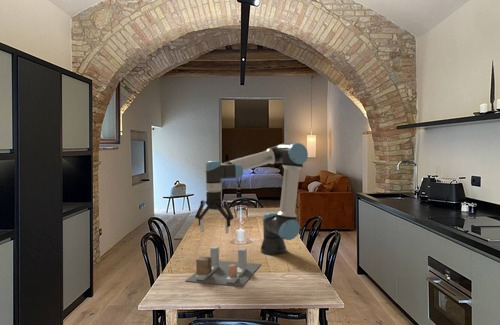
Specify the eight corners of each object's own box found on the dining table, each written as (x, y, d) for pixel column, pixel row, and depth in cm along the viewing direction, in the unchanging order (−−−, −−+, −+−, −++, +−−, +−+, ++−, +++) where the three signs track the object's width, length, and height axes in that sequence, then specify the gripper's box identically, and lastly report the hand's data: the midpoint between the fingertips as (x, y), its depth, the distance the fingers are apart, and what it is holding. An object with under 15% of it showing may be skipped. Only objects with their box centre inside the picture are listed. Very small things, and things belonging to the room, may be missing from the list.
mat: (211, 260, 205) (211, 260, 205) (261, 264, 197) (261, 264, 197) (185, 281, 174) (185, 280, 174) (242, 286, 166) (242, 286, 166)
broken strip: (239, 268, 190) (239, 248, 189) (247, 268, 189) (247, 248, 188) (225, 282, 170) (225, 260, 170) (234, 283, 169) (233, 260, 168)
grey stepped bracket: (212, 265, 194) (212, 246, 194) (219, 266, 193) (219, 246, 192) (195, 279, 174) (195, 257, 174) (203, 280, 173) (203, 258, 173)
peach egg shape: (230, 274, 176) (230, 263, 176) (238, 275, 175) (238, 264, 175) (227, 277, 172) (227, 266, 172) (235, 277, 171) (235, 267, 171)
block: (201, 270, 182) (201, 256, 182) (211, 271, 181) (211, 257, 180) (196, 274, 177) (196, 259, 177) (207, 275, 175) (206, 260, 175)
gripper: (188, 191, 190) (189, 232, 191) (234, 192, 183) (235, 235, 184) (194, 189, 197) (195, 229, 198) (239, 190, 190) (239, 232, 191)
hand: (214, 232), depth 191 cm, fingers open, 13 cm apart
